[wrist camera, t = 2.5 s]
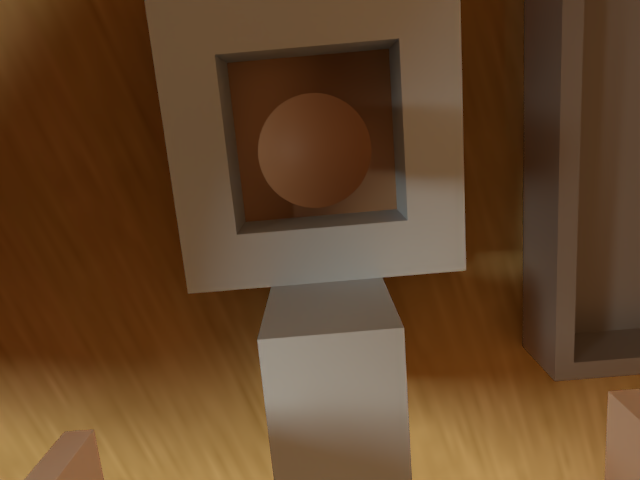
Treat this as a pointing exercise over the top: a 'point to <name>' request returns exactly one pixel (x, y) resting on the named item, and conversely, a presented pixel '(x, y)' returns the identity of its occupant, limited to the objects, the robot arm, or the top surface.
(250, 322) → the top surface
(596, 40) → the tray
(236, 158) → the ring
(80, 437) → the robot arm
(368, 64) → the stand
